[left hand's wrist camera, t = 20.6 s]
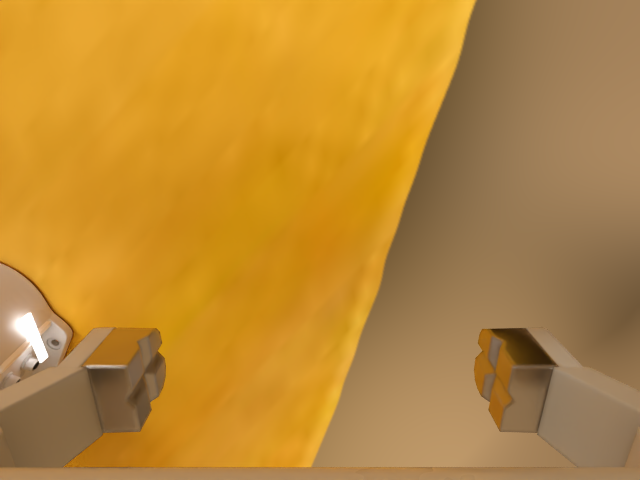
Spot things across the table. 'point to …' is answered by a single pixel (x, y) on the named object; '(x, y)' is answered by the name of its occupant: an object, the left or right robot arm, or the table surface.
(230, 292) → the table surface
